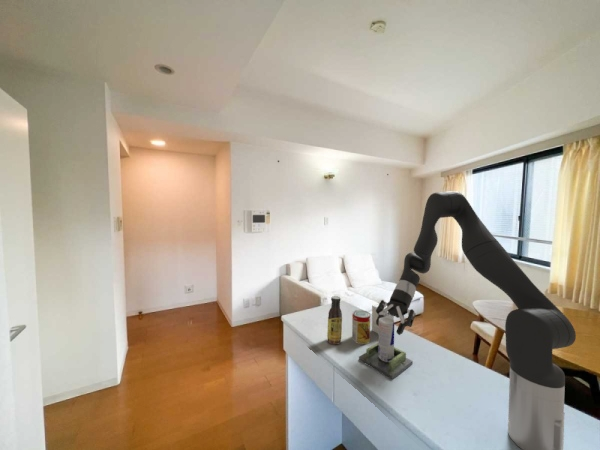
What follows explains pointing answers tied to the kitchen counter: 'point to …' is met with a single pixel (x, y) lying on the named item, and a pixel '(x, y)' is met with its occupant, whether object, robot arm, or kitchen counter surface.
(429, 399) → the kitchen counter surface
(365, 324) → the canned food
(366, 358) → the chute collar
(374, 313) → the supplement box
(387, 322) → the beverage can
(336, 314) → the sauce bottle
